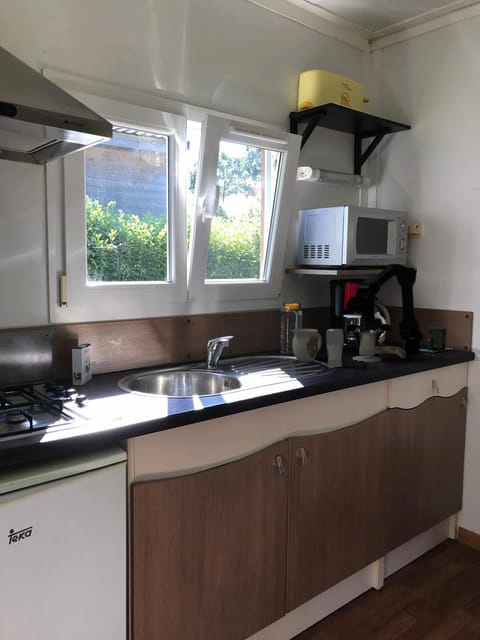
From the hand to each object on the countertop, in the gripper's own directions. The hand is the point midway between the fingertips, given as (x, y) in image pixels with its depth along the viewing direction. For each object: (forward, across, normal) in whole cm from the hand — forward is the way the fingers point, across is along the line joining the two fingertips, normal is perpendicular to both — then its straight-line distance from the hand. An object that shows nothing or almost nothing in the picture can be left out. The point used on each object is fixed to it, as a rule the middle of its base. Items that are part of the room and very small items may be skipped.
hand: (367, 347), depth 237 cm
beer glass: (+6, -16, -16) cm, 23 cm away
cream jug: (+3, 0, -1) cm, 3 cm away
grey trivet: (+5, 0, 0) cm, 5 cm away
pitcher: (+6, -26, -2) cm, 27 cm away
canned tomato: (+6, +38, +26) cm, 46 cm away
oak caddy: (+6, +10, +10) cm, 15 cm away
